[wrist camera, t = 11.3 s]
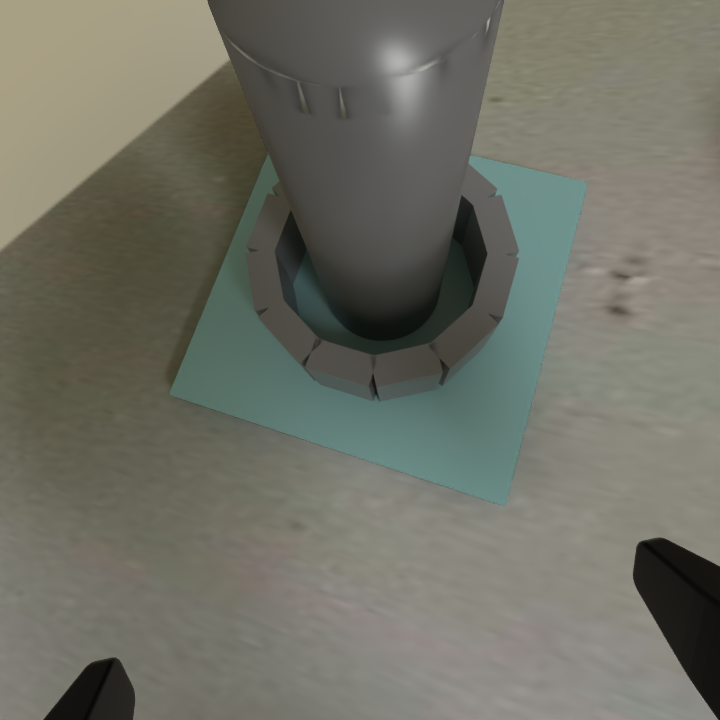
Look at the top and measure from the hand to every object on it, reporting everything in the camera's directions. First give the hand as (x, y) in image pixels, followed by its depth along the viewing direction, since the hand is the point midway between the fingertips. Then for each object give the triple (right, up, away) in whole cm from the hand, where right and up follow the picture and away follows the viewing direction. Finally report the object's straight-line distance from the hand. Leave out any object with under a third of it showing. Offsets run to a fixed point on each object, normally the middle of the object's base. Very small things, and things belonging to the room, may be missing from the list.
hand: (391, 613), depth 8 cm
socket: (0, +7, +12) cm, 14 cm away
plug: (0, +7, +11) cm, 13 cm away
